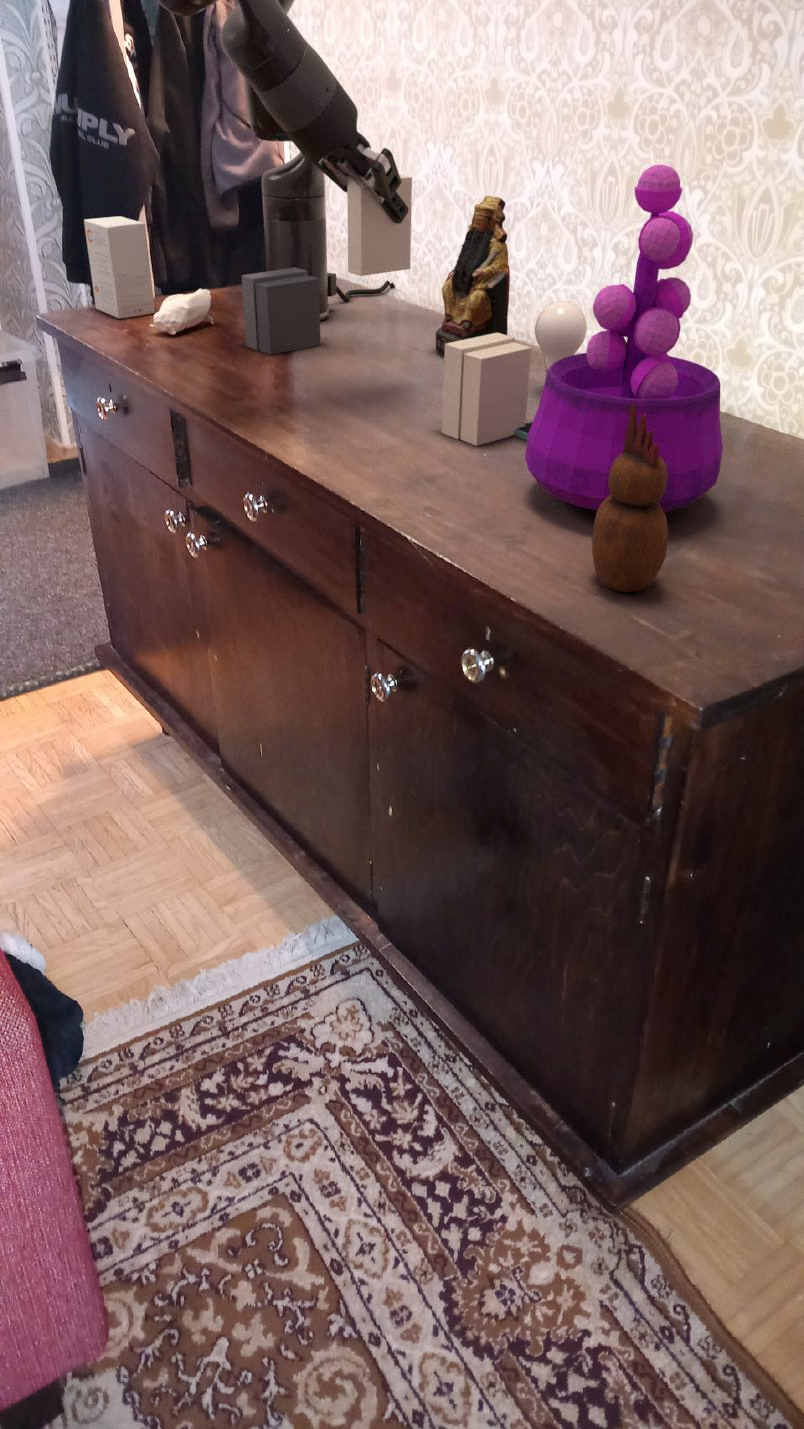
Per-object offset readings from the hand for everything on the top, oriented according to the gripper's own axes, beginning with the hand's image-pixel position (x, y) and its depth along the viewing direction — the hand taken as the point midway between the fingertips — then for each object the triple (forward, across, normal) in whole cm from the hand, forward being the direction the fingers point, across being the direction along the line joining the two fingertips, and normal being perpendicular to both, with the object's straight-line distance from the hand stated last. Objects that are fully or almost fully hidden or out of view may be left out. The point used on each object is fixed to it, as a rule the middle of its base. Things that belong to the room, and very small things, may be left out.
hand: (393, 214), depth 126 cm
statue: (+27, +3, +2) cm, 27 cm away
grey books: (+14, +24, +14) cm, 31 cm away
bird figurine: (+9, +40, +20) cm, 45 cm away
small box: (+8, +55, +21) cm, 59 cm away
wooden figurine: (+1, -55, +28) cm, 62 cm away
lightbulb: (+25, -14, +4) cm, 29 cm away
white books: (+12, -20, +16) cm, 29 cm away
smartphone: (+19, -26, +10) cm, 34 cm away
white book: (+3, 0, +6) cm, 6 cm away
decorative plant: (+11, -43, +18) cm, 48 cm away
